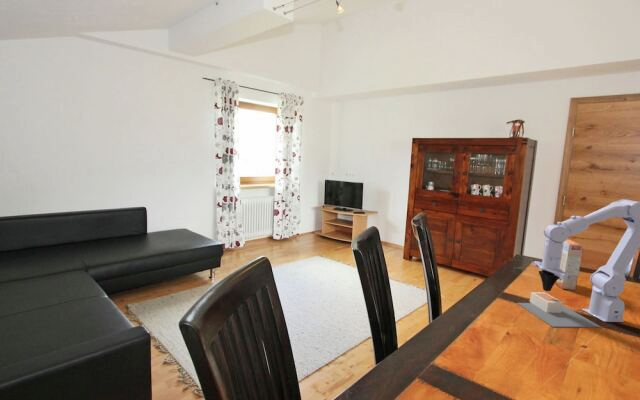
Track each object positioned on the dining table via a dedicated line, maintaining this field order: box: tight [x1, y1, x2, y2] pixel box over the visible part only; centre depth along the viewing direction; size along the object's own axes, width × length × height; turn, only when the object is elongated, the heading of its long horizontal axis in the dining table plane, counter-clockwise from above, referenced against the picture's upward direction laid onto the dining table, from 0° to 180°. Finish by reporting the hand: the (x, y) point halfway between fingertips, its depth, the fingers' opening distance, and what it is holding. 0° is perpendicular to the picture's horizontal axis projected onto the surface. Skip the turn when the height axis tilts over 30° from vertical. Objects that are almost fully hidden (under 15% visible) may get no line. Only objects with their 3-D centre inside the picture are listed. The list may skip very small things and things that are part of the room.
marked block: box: [529, 291, 564, 313], centre depth 130 cm, size 4×6×9 cm
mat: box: [516, 302, 602, 328], centre depth 125 cm, size 18×18×1 cm
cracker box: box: [554, 238, 584, 291], centre depth 155 cm, size 14×6×21 cm, turn 168°
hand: (546, 290), depth 130 cm, fingers closed
